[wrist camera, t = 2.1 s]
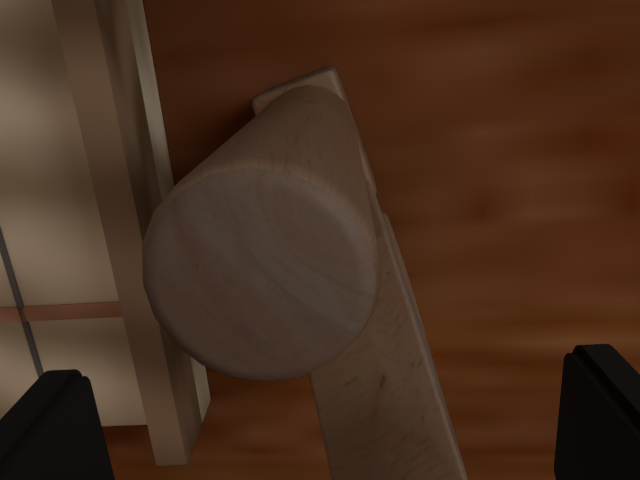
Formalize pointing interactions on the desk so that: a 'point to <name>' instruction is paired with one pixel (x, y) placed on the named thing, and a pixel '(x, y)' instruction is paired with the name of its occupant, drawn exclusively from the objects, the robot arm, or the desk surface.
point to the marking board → (87, 216)
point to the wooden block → (304, 283)
